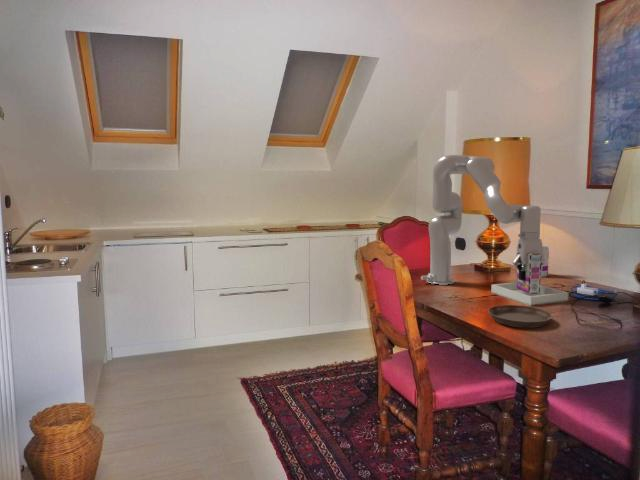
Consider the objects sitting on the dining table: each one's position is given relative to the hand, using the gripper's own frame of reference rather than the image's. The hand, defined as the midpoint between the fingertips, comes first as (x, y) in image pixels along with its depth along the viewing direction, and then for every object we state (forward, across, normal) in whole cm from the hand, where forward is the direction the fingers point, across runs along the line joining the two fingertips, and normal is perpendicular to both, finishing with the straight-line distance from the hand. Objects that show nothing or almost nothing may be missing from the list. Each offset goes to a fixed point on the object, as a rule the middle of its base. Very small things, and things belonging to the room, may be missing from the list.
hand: (528, 278), depth 210 cm
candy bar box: (+5, 0, 0) cm, 5 cm away
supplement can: (+8, +34, +32) cm, 47 cm away
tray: (+8, 0, 0) cm, 8 cm away
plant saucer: (+8, -26, -26) cm, 38 cm away
